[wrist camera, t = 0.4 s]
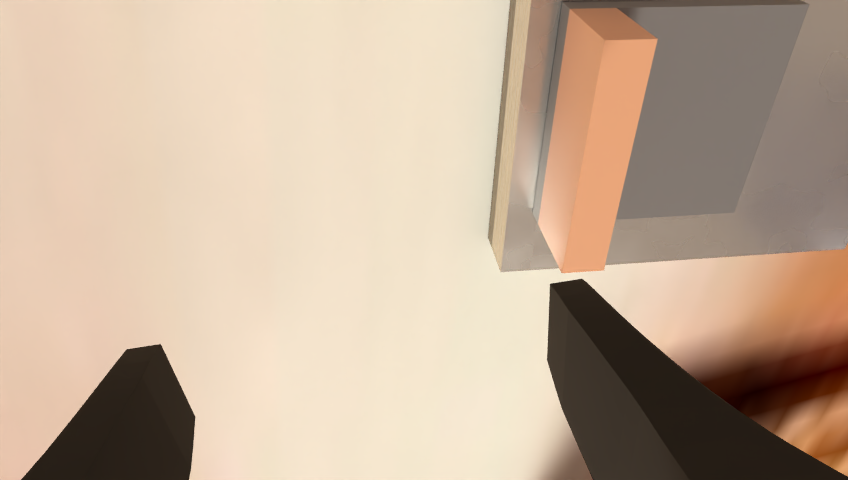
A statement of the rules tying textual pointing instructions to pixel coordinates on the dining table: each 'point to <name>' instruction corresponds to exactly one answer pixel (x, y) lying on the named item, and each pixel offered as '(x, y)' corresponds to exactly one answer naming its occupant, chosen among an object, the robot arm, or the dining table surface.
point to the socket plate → (694, 234)
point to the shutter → (655, 113)
